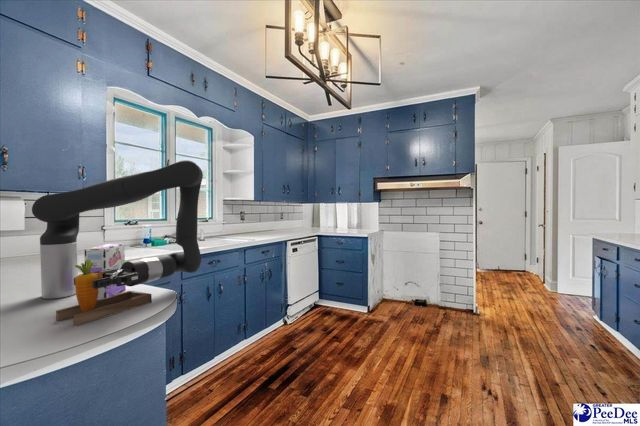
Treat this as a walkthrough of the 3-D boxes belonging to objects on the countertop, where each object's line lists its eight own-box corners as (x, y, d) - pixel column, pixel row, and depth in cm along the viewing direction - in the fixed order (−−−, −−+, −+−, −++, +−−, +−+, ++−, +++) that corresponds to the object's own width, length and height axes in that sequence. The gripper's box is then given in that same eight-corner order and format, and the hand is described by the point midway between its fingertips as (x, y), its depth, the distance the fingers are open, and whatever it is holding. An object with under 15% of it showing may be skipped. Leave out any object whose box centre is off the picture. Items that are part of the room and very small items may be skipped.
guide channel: (56, 320, 79) (55, 309, 79) (132, 298, 97) (132, 289, 97) (76, 325, 75) (75, 314, 75) (151, 302, 93) (151, 293, 93)
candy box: (105, 301, 95) (104, 248, 94) (84, 302, 94) (83, 248, 93) (126, 289, 108) (125, 242, 108) (108, 290, 107) (106, 243, 107)
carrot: (87, 320, 78) (85, 261, 78) (71, 319, 79) (69, 261, 79) (104, 313, 83) (102, 258, 83) (89, 312, 84) (87, 258, 84)
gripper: (127, 257, 98) (67, 267, 83) (157, 260, 92) (99, 271, 77) (127, 281, 98) (68, 294, 84) (158, 285, 92) (100, 300, 77)
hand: (83, 283), depth 80 cm, fingers open, 8 cm apart
